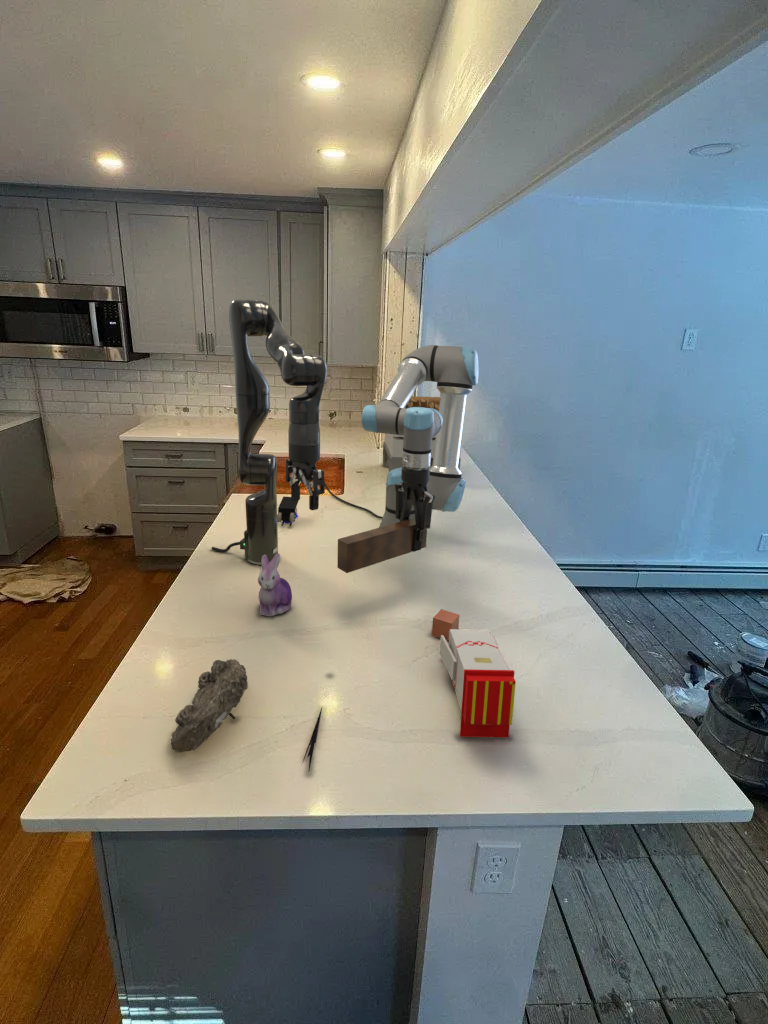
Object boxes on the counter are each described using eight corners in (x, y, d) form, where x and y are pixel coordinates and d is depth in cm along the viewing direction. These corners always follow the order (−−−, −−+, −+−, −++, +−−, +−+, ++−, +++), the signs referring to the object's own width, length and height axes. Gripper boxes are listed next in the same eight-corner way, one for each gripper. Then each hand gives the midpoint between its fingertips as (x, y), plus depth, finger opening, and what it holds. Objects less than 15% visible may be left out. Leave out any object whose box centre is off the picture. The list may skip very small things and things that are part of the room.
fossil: (195, 660, 117) (247, 628, 112) (227, 691, 120) (279, 661, 115) (146, 746, 98) (206, 711, 93) (185, 779, 101) (245, 748, 96)
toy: (489, 613, 130) (525, 677, 101) (485, 667, 133) (518, 744, 104) (437, 612, 130) (457, 676, 101) (434, 666, 133) (453, 743, 103)
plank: (346, 573, 142) (347, 544, 140) (337, 567, 145) (337, 538, 142) (426, 547, 160) (427, 520, 157) (416, 542, 163) (418, 516, 160)
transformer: (381, 463, 289) (385, 382, 275) (444, 464, 292) (450, 384, 279) (389, 482, 257) (393, 392, 243) (459, 483, 261) (467, 394, 247)
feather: (331, 679, 122) (336, 673, 122) (307, 777, 96) (313, 769, 95) (324, 675, 122) (329, 669, 121) (298, 772, 95) (304, 764, 95)
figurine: (263, 621, 141) (261, 566, 136) (252, 602, 149) (250, 550, 144) (299, 613, 145) (298, 560, 140) (286, 596, 154) (285, 545, 148)
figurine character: (295, 532, 200) (300, 513, 214) (294, 513, 197) (299, 495, 210) (276, 531, 200) (282, 512, 213) (275, 512, 197) (281, 494, 210)
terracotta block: (431, 635, 139) (432, 617, 137) (439, 626, 143) (441, 608, 141) (450, 641, 136) (451, 623, 135) (458, 632, 140) (459, 614, 139)
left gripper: (275, 436, 139) (277, 500, 144) (306, 448, 128) (306, 515, 134) (302, 434, 143) (302, 495, 148) (334, 444, 133) (333, 510, 138)
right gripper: (384, 461, 154) (380, 540, 162) (428, 476, 142) (422, 561, 150) (404, 457, 159) (400, 535, 167) (449, 472, 147) (442, 554, 155)
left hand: (304, 504), depth 141 cm, fingers open, 8 cm apart
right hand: (410, 547), depth 159 cm, fingers closed on plank, 4 cm apart
